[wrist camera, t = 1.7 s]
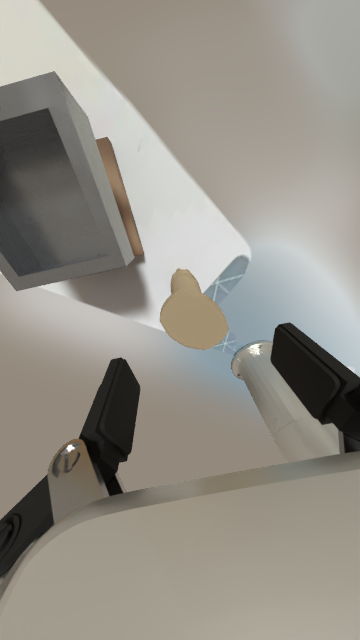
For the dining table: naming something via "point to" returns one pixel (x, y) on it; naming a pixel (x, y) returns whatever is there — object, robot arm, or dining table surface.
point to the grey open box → (53, 189)
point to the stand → (119, 194)
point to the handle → (192, 314)
